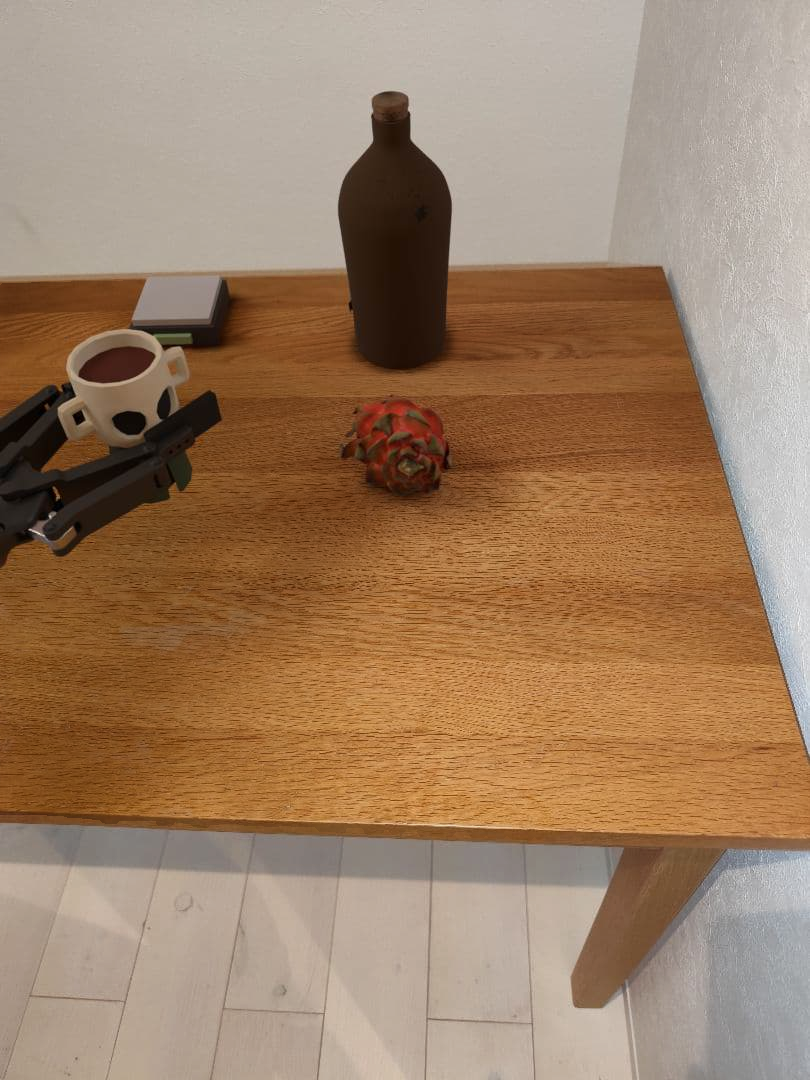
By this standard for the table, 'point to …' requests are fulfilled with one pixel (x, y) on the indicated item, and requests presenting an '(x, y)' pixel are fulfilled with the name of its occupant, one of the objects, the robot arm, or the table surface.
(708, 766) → the table surface
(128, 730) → the table surface
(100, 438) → the character mug
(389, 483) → the dragon fruit
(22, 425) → the robot arm
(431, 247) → the olive oil
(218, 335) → the scale
